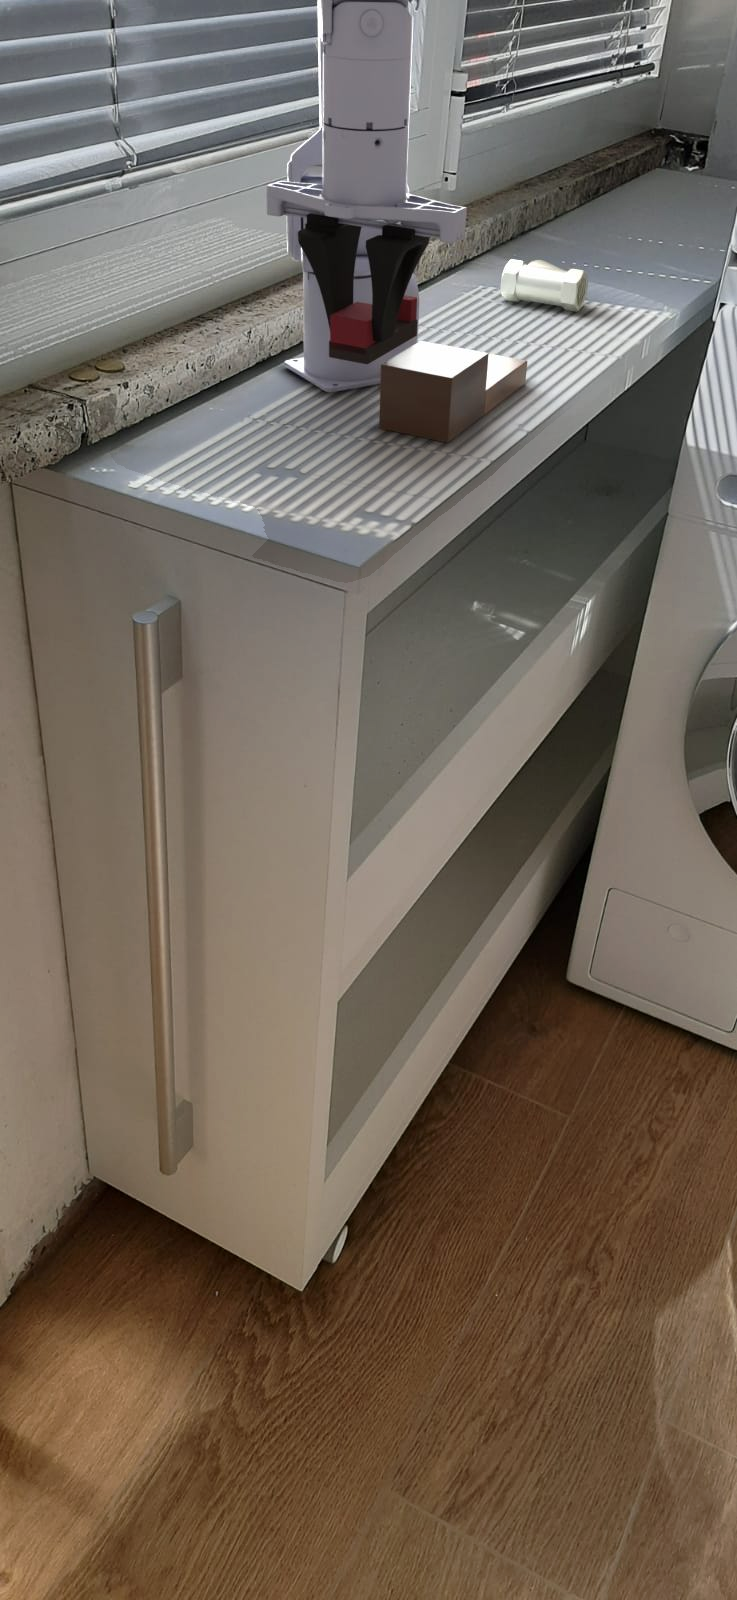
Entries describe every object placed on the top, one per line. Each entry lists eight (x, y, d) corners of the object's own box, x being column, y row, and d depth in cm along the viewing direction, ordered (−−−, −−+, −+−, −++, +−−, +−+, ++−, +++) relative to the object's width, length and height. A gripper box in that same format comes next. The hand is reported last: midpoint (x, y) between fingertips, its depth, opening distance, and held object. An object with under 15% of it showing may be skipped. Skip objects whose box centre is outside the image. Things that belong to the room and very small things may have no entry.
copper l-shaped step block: (462, 371, 111) (466, 313, 108) (525, 383, 108) (531, 324, 105) (378, 428, 99) (380, 364, 96) (447, 443, 97) (451, 378, 94)
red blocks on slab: (379, 329, 97) (380, 288, 95) (417, 335, 96) (418, 294, 94) (328, 357, 91) (328, 314, 89) (367, 364, 90) (368, 321, 88)
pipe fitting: (523, 292, 133) (498, 302, 128) (527, 252, 131) (503, 261, 126) (595, 304, 130) (573, 314, 125) (601, 263, 128) (579, 272, 123)
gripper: (240, 120, 83) (246, 331, 91) (438, 145, 77) (427, 366, 86) (295, 106, 88) (296, 307, 96) (485, 128, 82) (470, 339, 91)
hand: (361, 334), depth 91 cm, fingers closed on red blocks on slab, 3 cm apart
